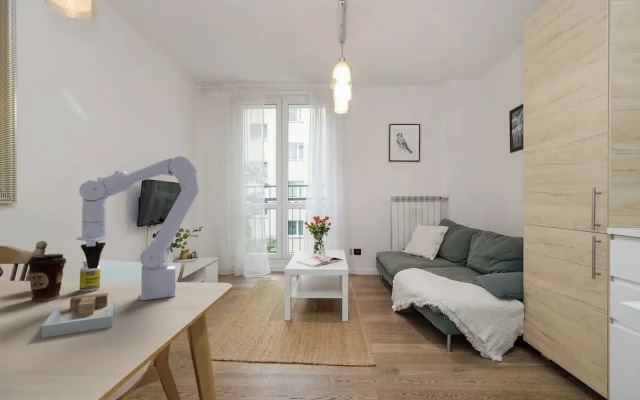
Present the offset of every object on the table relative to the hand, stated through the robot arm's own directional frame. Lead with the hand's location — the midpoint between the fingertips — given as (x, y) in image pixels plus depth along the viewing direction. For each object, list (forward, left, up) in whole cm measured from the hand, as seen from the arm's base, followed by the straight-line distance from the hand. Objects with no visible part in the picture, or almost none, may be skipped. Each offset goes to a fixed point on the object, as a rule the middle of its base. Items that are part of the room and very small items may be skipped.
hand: (93, 268), depth 92 cm
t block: (0, +10, -10) cm, 14 cm away
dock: (0, +22, -9) cm, 23 cm away
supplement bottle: (+2, -14, -10) cm, 17 cm away
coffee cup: (+12, -8, -10) cm, 17 cm away
